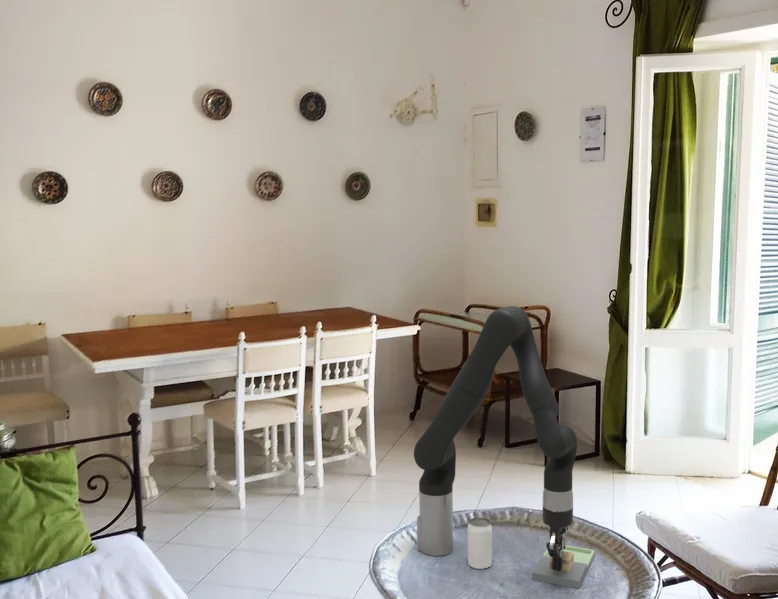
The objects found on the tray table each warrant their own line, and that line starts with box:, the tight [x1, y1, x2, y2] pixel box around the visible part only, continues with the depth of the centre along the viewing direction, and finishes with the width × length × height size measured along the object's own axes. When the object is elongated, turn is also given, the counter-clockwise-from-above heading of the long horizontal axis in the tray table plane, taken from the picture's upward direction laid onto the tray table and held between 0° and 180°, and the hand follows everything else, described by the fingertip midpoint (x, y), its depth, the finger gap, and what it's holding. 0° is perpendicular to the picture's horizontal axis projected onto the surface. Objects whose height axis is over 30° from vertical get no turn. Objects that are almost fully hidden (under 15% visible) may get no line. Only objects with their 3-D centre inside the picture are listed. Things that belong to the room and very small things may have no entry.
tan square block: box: [550, 551, 574, 572], centre depth 212 cm, size 5×5×3 cm
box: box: [543, 545, 596, 571], centre depth 220 cm, size 12×10×2 cm
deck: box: [531, 556, 588, 589], centre depth 211 cm, size 12×10×2 cm
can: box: [466, 516, 493, 570], centre depth 217 cm, size 6×6×12 cm
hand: (557, 569), depth 208 cm, fingers closed
